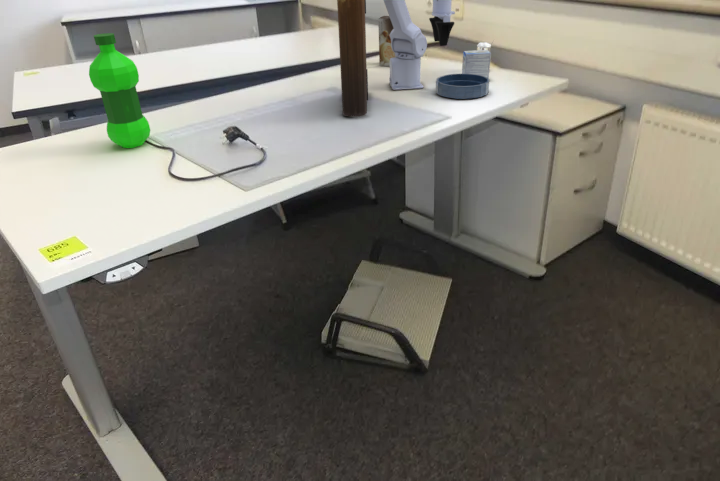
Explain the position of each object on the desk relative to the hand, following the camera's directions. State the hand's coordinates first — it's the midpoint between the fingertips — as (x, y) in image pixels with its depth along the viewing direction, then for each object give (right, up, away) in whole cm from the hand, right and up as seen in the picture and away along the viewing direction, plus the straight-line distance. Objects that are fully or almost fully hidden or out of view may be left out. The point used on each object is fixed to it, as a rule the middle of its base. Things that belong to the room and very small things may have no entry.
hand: (440, 43), depth 171 cm
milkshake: (+16, -6, +10) cm, 20 cm away
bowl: (+4, -19, -13) cm, 24 cm away
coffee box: (-14, 0, +23) cm, 26 cm away
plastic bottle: (-80, -40, -42) cm, 99 cm away
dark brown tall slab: (-27, -25, -20) cm, 42 cm away
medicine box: (+11, -12, 0) cm, 16 cm away
